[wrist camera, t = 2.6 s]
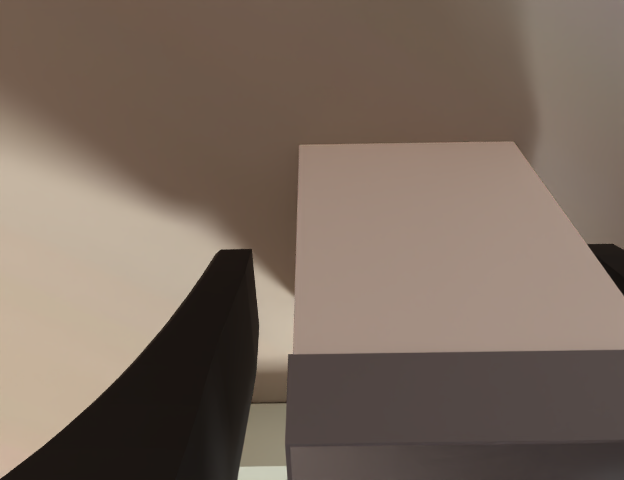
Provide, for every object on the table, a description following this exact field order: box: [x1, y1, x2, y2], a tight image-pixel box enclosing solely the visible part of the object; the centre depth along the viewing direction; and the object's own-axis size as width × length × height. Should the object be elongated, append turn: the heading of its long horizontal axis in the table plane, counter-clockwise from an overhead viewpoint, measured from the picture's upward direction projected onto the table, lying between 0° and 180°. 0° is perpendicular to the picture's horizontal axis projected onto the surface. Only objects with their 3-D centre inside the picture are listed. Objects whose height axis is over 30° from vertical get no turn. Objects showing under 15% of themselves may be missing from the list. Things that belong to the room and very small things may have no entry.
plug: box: [285, 141, 624, 480], centre depth 10 cm, size 4×4×7 cm
